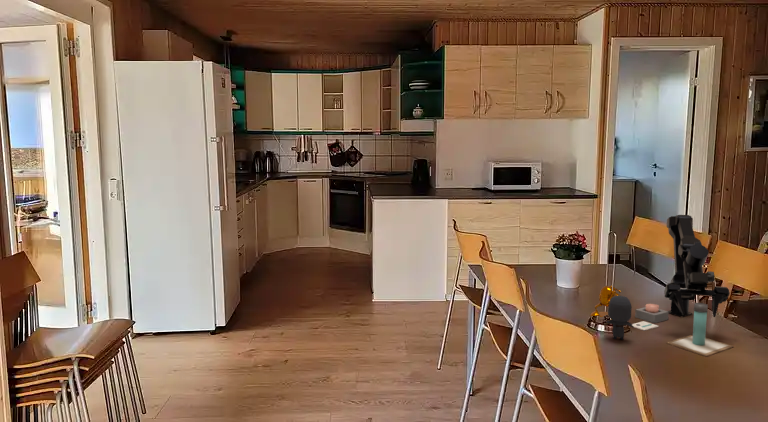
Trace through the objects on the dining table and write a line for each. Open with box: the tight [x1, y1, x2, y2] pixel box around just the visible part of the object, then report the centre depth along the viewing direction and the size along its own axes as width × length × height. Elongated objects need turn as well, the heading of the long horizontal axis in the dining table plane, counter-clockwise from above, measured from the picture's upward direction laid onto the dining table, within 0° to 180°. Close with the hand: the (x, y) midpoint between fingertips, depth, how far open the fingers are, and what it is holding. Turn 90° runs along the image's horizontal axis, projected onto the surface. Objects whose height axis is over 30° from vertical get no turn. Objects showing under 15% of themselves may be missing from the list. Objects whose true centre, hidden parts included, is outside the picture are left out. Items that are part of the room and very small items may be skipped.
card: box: [631, 320, 659, 332], centre depth 203 cm, size 8×6×1 cm
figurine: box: [589, 285, 623, 317], centre depth 212 cm, size 8×11×12 cm
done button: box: [645, 303, 660, 313], centre depth 211 cm, size 4×4×4 cm
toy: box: [603, 294, 635, 341], centre depth 189 cm, size 9×8×15 cm
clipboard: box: [666, 334, 734, 358], centre depth 184 cm, size 15×13×1 cm
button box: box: [634, 306, 670, 324], centre depth 211 cm, size 8×8×3 cm
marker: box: [692, 302, 709, 346], centre depth 184 cm, size 4×4×13 cm
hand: (698, 315), depth 187 cm, fingers open, 9 cm apart
